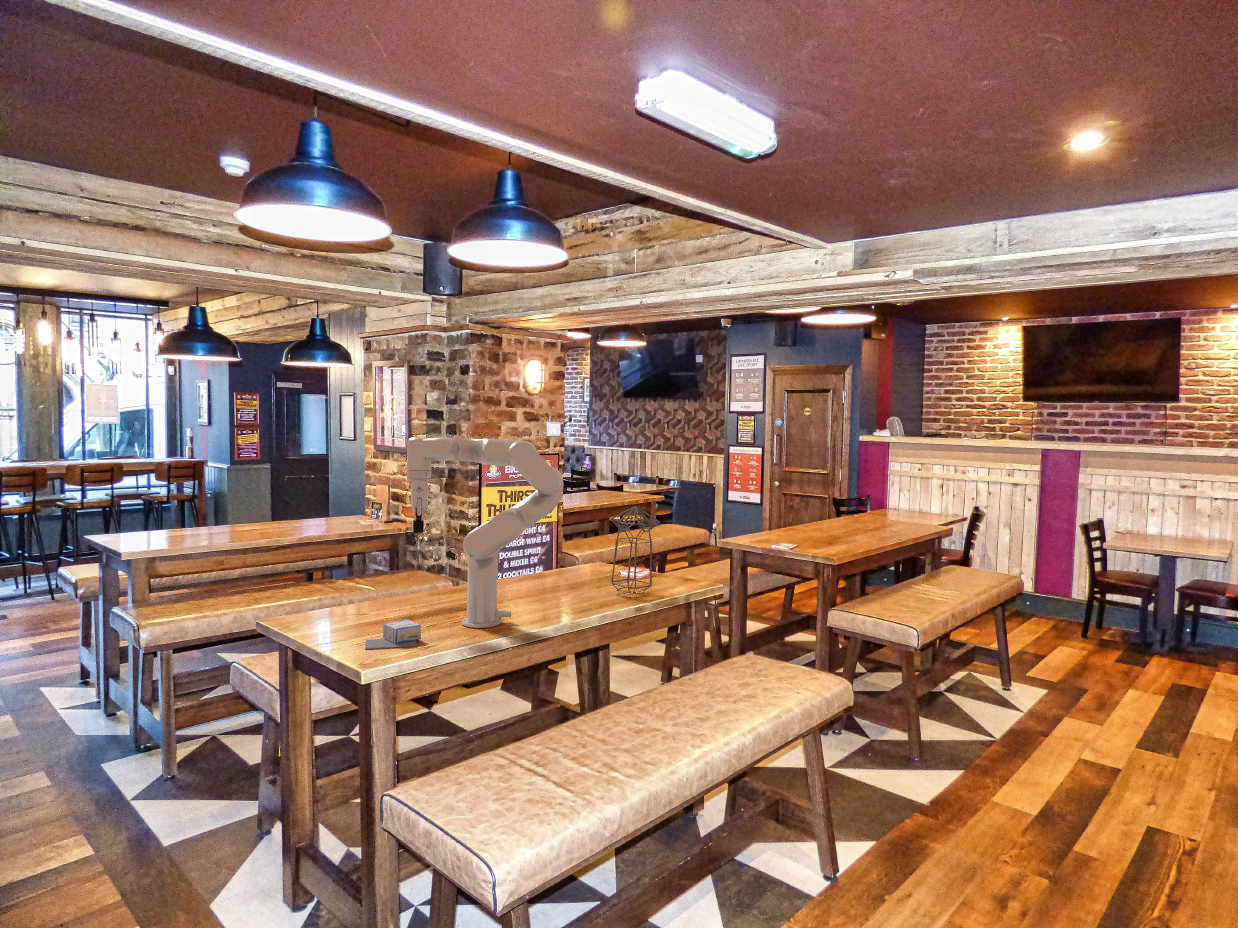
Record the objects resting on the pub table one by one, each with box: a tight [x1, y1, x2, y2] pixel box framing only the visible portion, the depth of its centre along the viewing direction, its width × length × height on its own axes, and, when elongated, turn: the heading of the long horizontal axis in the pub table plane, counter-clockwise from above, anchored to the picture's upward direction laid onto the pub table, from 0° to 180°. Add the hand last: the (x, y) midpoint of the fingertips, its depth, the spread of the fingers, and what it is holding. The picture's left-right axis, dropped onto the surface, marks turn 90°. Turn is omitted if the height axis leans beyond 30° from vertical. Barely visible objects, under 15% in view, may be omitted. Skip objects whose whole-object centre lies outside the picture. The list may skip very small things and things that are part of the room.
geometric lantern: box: [608, 506, 661, 594], centre depth 281 cm, size 16×16×35 cm
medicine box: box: [382, 619, 422, 644], centre depth 213 cm, size 8×4×9 cm
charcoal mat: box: [364, 638, 418, 651], centre depth 209 cm, size 14×9×1 cm, turn 108°
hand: (418, 532), depth 233 cm, fingers closed
